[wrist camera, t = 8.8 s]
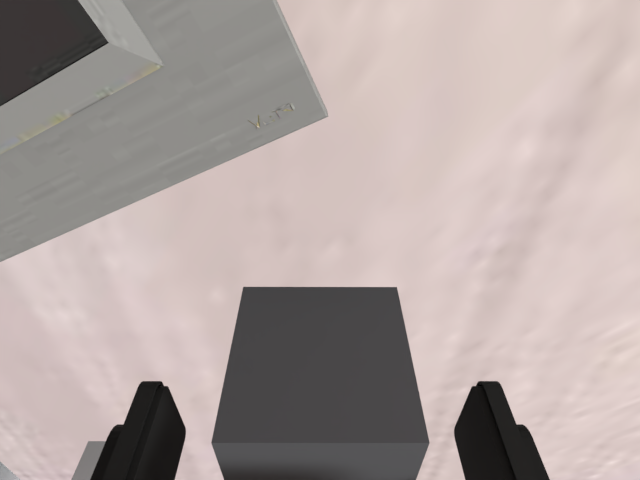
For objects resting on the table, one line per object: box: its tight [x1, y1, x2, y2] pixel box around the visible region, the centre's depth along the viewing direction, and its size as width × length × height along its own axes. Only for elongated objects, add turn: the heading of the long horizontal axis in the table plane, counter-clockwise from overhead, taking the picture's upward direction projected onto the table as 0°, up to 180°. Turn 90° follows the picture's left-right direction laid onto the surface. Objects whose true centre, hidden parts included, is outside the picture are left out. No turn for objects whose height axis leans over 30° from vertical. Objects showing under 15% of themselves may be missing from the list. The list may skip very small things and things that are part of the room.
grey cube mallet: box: [211, 287, 429, 480], centre depth 16 cm, size 16×5×5 cm, turn 0°
